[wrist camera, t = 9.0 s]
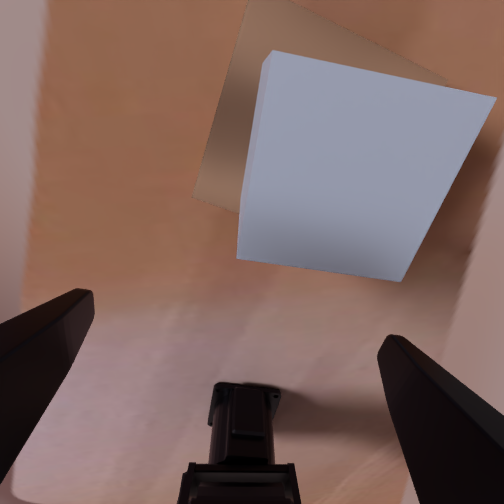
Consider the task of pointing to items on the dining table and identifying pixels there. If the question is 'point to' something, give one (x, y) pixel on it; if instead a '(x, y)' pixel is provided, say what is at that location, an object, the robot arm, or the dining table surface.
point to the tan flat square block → (248, 77)
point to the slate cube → (349, 165)
